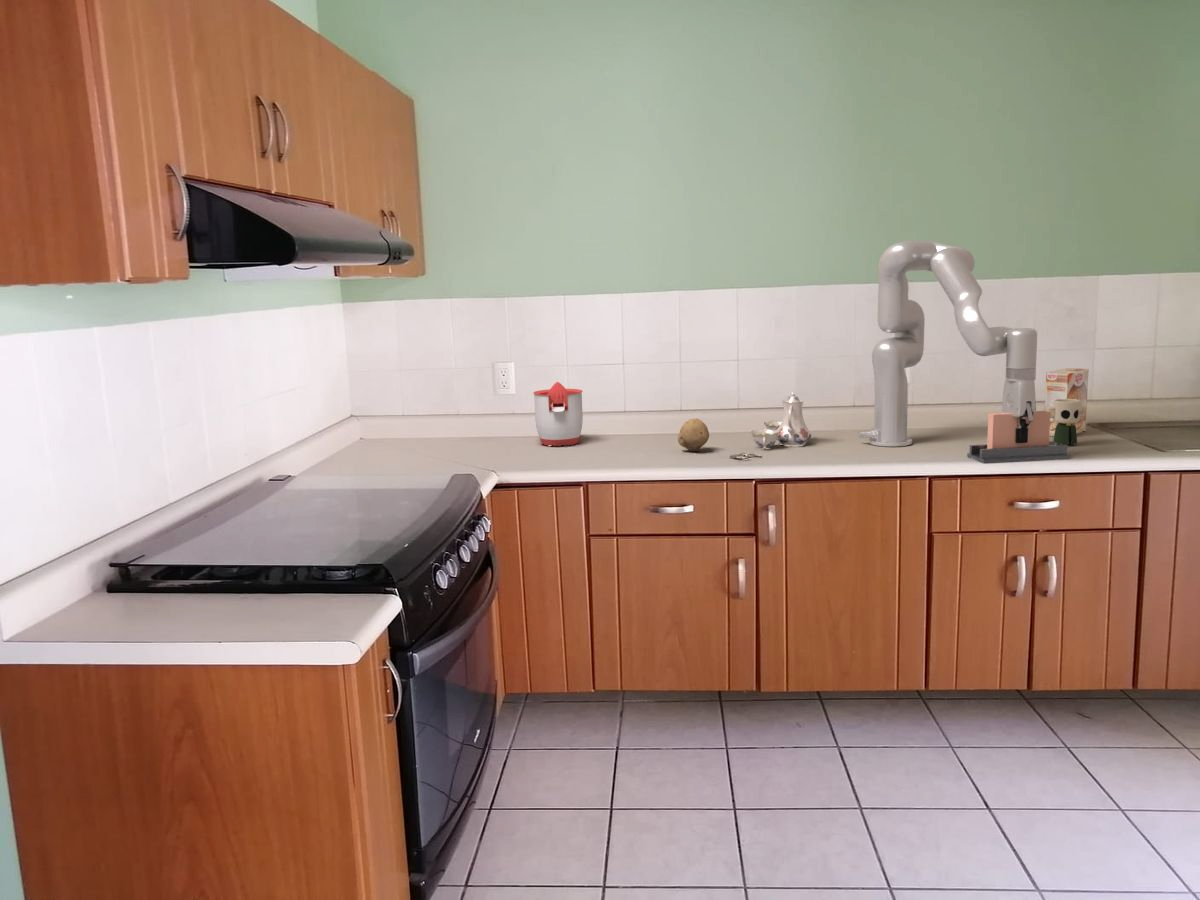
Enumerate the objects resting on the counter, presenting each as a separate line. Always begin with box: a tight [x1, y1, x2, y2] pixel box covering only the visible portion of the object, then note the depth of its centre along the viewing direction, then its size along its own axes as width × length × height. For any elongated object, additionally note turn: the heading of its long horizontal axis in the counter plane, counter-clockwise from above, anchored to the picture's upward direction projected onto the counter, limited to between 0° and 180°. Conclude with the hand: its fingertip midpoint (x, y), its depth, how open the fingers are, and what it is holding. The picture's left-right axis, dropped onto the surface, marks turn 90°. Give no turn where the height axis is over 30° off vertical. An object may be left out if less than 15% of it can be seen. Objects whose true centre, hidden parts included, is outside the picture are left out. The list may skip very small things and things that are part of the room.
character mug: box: [1048, 399, 1087, 445], centre depth 296 cm, size 11×7×13 cm, turn 91°
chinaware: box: [750, 391, 812, 450], centre depth 314 cm, size 28×17×17 cm, turn 163°
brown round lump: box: [677, 418, 710, 453], centre depth 306 cm, size 9×9×10 cm
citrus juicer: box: [532, 381, 584, 447], centre depth 326 cm, size 16×17×20 cm
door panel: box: [986, 410, 1050, 449], centre depth 279 cm, size 16×3×10 cm, turn 95°
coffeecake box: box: [1044, 367, 1090, 437], centre depth 314 cm, size 15×7×20 cm, turn 132°
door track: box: [966, 440, 1071, 464], centre depth 280 cm, size 24×10×4 cm, turn 95°
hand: (1017, 441), depth 280 cm, fingers closed on door panel, 3 cm apart
